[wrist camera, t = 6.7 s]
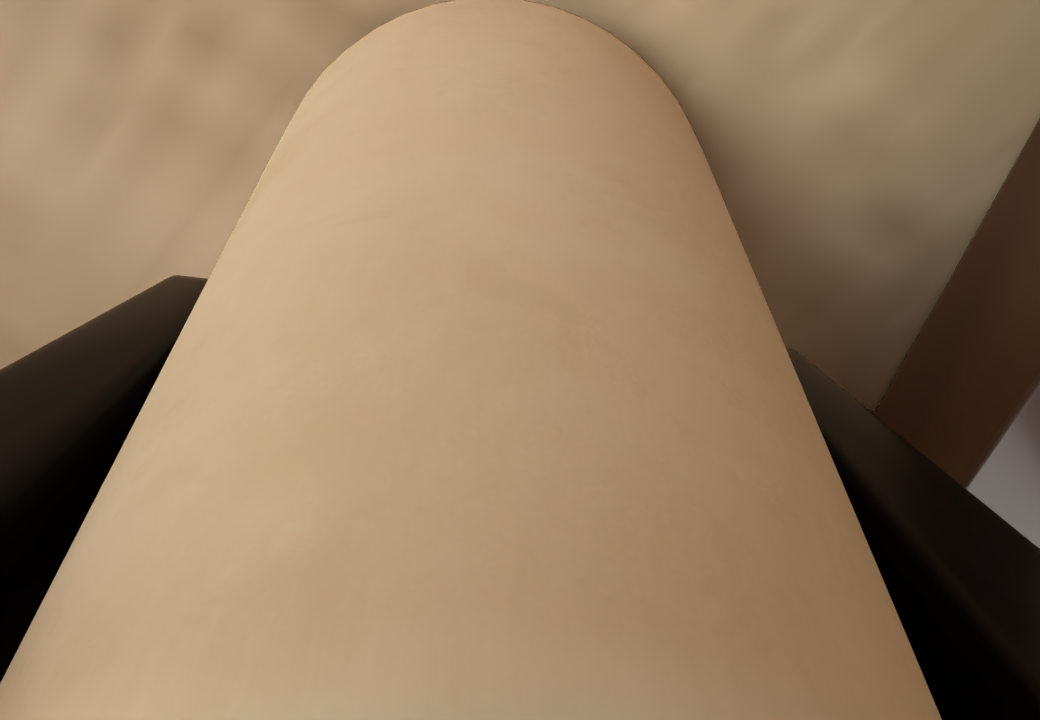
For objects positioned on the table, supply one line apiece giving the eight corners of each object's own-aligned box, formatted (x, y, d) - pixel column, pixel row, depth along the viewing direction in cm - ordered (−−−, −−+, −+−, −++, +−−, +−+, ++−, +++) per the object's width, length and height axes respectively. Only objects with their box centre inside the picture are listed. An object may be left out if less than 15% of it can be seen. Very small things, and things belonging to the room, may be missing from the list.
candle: (774, 65, 10) (1706, 1376, 2) (616, 400, 13) (766, 1407, 6) (311, -75, 9) (-930, 1391, 1) (263, 324, 12) (-166, 1420, 5)
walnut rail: (723, 682, 19) (747, 797, 17) (1305, -364, 8) (1569, -383, 6) (808, 689, 19) (842, 803, 17) (1491, -321, 8) (1805, -325, 6)
